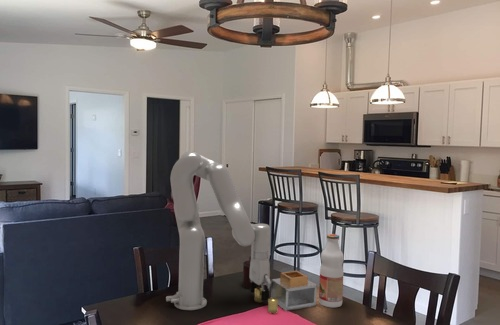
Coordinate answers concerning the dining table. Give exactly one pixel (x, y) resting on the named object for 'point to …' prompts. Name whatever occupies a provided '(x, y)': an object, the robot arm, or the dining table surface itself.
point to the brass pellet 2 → (272, 305)
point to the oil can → (247, 274)
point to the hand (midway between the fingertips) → (259, 296)
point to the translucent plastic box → (294, 291)
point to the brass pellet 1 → (258, 294)
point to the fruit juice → (331, 274)
